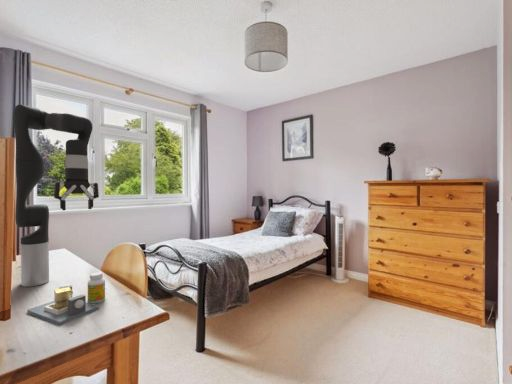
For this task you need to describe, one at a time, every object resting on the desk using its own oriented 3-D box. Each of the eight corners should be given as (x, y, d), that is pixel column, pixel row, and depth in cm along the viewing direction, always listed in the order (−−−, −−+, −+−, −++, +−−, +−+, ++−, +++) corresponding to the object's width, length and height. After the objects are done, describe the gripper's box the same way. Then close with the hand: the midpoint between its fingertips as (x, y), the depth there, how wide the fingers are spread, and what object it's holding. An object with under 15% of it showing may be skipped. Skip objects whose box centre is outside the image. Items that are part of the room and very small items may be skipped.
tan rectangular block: (56, 312, 87) (56, 293, 87) (54, 307, 90) (54, 289, 90) (71, 308, 90) (71, 290, 90) (69, 304, 93) (69, 286, 93)
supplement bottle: (85, 304, 95) (85, 276, 95) (90, 298, 101) (90, 272, 100) (102, 302, 97) (102, 275, 97) (106, 296, 102) (106, 270, 102)
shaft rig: (27, 312, 89) (27, 295, 89) (66, 299, 100) (66, 283, 100) (59, 325, 81) (59, 305, 81) (98, 309, 92) (98, 291, 92)
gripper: (55, 166, 98) (56, 211, 98) (100, 168, 108) (100, 209, 108) (52, 167, 103) (53, 210, 103) (95, 168, 113) (95, 208, 113)
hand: (77, 209), depth 106 cm, fingers open, 8 cm apart
